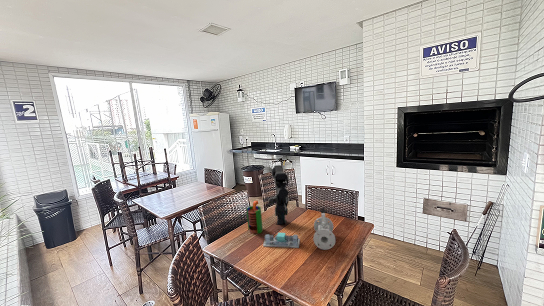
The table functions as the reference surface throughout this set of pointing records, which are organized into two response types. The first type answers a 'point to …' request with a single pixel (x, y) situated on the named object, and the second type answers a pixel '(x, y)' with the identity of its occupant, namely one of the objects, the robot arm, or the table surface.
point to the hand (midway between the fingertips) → (283, 216)
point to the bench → (291, 242)
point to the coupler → (281, 237)
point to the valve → (323, 232)
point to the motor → (254, 218)
